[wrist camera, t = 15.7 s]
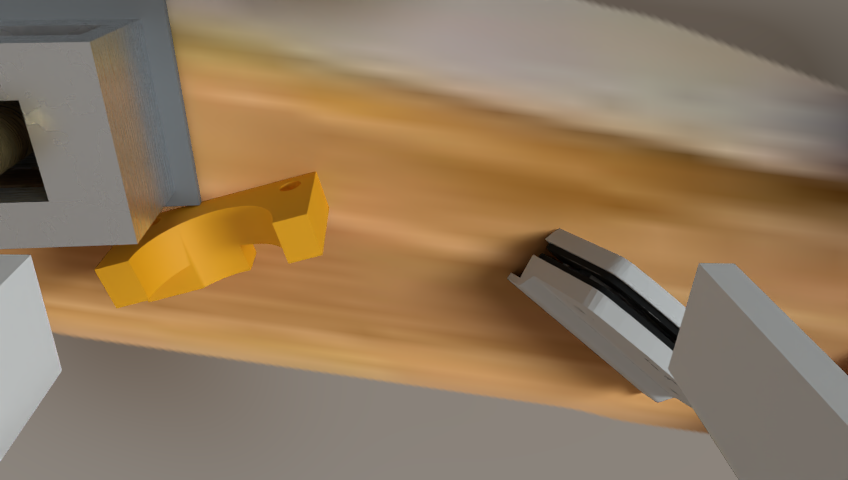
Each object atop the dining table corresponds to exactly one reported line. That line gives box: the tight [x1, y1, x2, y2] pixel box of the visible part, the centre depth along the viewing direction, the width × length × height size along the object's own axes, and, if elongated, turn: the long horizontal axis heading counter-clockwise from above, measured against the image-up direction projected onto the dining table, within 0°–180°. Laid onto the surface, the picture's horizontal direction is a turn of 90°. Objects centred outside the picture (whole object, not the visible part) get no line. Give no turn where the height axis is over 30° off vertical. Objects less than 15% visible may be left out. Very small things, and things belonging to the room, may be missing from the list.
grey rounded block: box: [507, 228, 692, 408], centre depth 42 cm, size 17×5×10 cm, turn 46°
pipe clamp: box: [95, 172, 329, 308], centre depth 38 cm, size 12×4×6 cm, turn 104°
